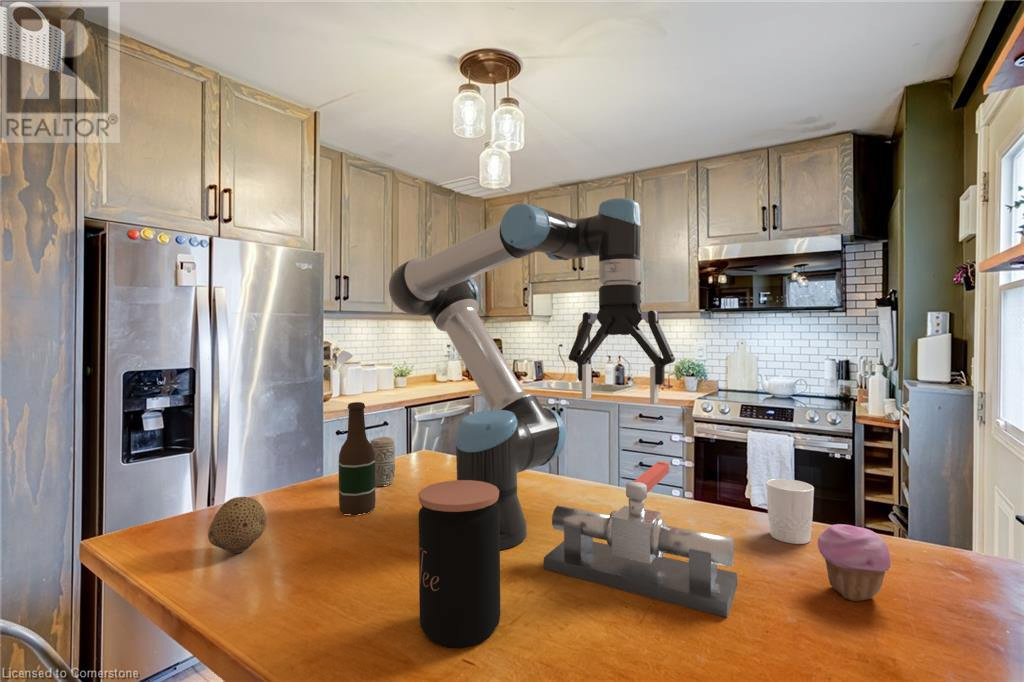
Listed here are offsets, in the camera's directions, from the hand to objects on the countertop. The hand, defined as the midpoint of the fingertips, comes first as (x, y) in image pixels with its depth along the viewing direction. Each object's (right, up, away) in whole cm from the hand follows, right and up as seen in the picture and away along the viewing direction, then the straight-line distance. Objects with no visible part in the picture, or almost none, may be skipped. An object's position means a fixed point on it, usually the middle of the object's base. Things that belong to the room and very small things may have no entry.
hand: (619, 400), depth 93 cm
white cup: (+33, -26, +1) cm, 42 cm away
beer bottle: (-54, -27, +18) cm, 63 cm away
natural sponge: (-69, -27, -3) cm, 74 cm away
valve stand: (0, -26, -14) cm, 30 cm away
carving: (-54, -27, +38) cm, 71 cm away
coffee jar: (-27, -27, -27) cm, 47 cm away
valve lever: (+4, -13, -7) cm, 16 cm away
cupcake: (+30, -26, -19) cm, 45 cm away
